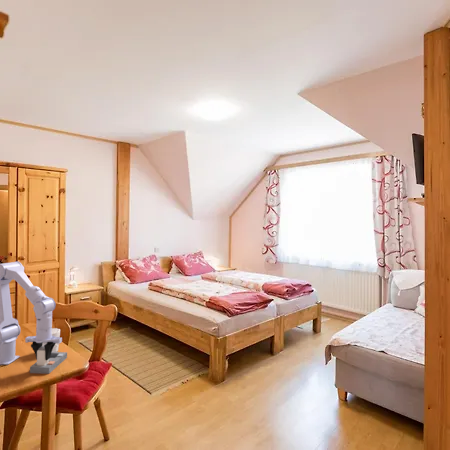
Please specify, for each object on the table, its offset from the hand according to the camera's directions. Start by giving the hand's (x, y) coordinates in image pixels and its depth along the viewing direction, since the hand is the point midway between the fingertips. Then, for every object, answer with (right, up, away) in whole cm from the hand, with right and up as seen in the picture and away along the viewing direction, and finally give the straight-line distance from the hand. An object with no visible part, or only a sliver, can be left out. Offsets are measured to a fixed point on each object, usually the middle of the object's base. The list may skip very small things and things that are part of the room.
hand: (43, 359), depth 134 cm
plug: (0, -4, 0) cm, 4 cm away
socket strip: (0, -4, +4) cm, 6 cm away
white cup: (-7, -4, +17) cm, 19 cm away
